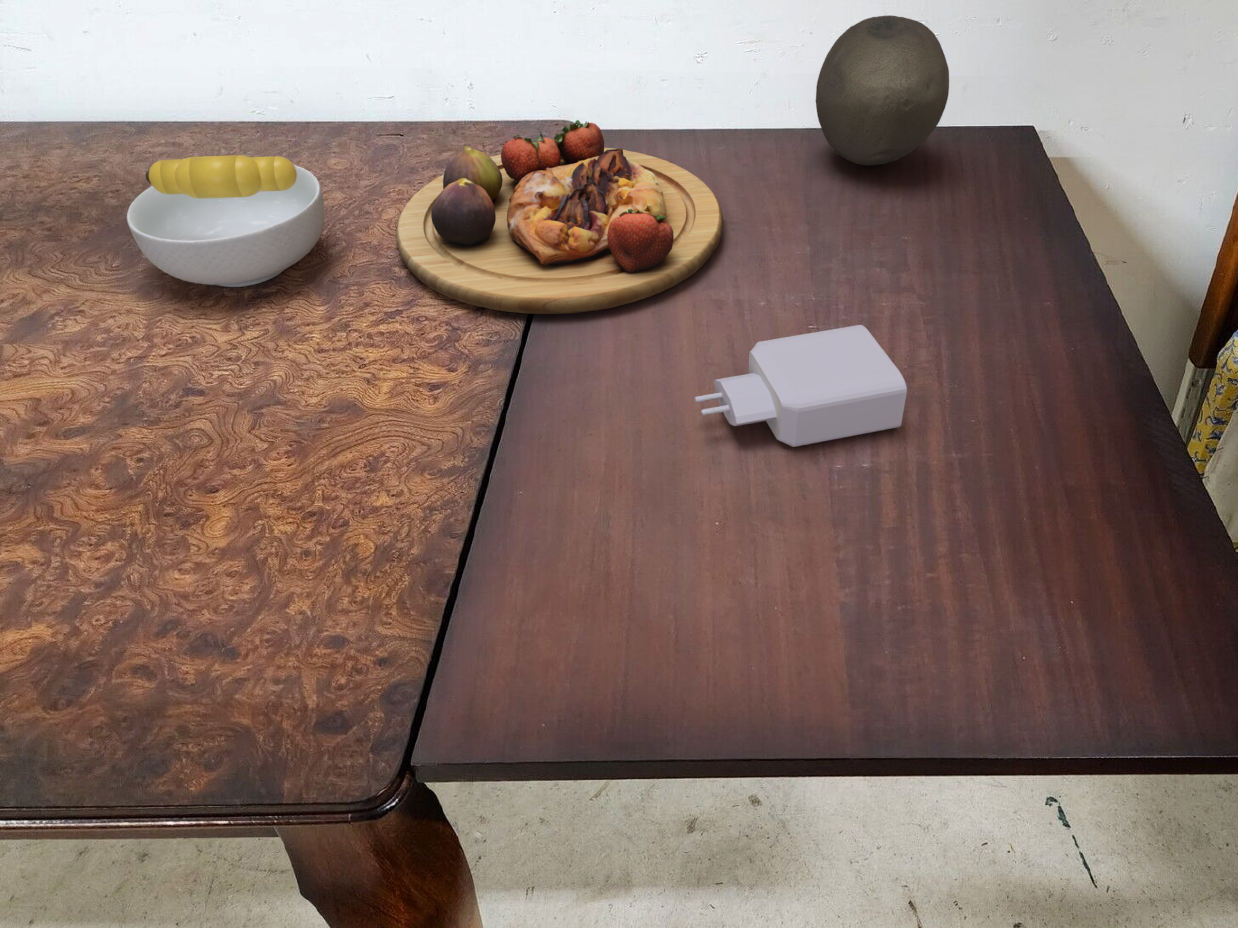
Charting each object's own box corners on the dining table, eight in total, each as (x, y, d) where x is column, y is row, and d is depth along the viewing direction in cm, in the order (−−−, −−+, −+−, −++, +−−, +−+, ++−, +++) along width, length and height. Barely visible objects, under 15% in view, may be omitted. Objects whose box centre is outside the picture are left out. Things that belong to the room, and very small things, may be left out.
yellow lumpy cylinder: (140, 206, 97) (128, 166, 94) (156, 189, 100) (144, 150, 98) (293, 201, 97) (284, 161, 95) (303, 184, 101) (294, 145, 98)
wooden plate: (781, 273, 102) (787, 190, 96) (453, 356, 92) (438, 268, 86) (643, 144, 123) (641, 70, 118) (364, 200, 113) (347, 122, 108)
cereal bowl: (317, 211, 111) (301, 144, 107) (354, 287, 100) (337, 216, 96) (142, 246, 106) (117, 177, 101) (161, 330, 95) (133, 257, 90)
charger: (681, 398, 87) (853, 367, 90) (716, 468, 81) (900, 433, 84) (681, 348, 84) (859, 318, 87) (717, 417, 78) (909, 382, 81)
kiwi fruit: (785, 171, 118) (795, 27, 108) (845, 127, 127) (859, -11, 116) (905, 204, 112) (927, 55, 102) (958, 155, 121) (983, 13, 111)
